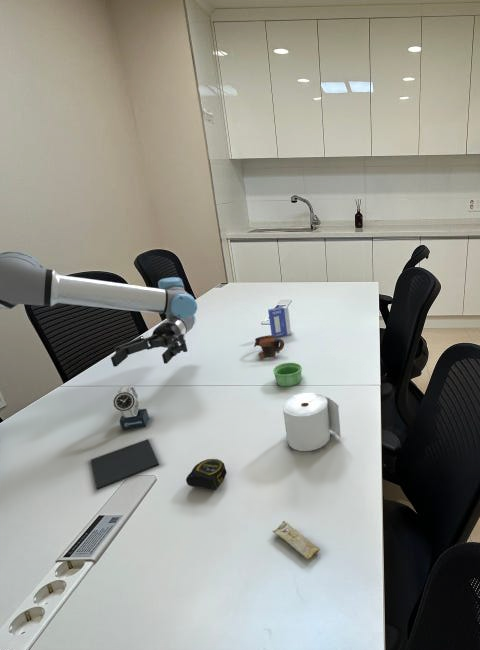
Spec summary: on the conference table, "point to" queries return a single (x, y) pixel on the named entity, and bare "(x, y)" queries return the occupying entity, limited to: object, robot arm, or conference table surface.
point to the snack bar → (296, 540)
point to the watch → (130, 409)
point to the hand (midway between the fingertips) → (138, 360)
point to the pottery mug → (269, 346)
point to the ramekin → (287, 374)
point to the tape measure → (207, 474)
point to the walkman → (279, 321)
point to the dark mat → (123, 463)
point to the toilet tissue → (310, 420)
